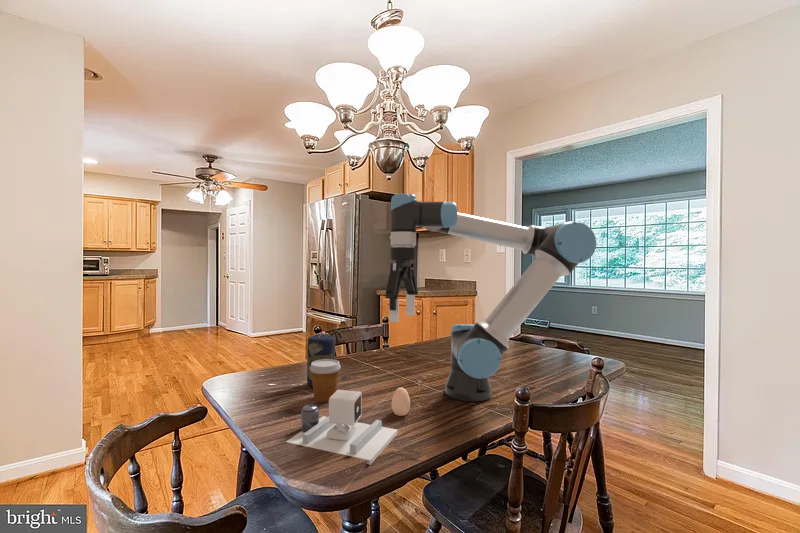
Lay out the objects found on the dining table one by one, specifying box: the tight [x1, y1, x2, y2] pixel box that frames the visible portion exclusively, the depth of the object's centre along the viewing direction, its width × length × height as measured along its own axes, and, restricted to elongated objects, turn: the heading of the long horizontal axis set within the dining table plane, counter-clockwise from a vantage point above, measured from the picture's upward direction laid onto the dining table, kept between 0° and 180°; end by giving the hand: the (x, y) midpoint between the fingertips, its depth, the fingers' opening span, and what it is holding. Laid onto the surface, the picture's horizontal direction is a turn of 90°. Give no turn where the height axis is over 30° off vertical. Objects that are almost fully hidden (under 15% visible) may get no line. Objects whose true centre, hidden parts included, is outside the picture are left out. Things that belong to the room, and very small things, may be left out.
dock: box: [285, 415, 399, 466], centre depth 93 cm, size 22×16×3 cm
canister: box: [306, 333, 336, 388], centre depth 133 cm, size 10×10×18 cm
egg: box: [391, 387, 411, 417], centre depth 106 cm, size 5×5×8 cm
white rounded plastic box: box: [327, 389, 363, 441], centre depth 92 cm, size 6×7×10 cm
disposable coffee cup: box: [310, 359, 342, 403], centre depth 118 cm, size 10×10×12 cm
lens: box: [300, 403, 320, 433], centre depth 96 cm, size 4×4×6 cm
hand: (402, 318), depth 112 cm, fingers open, 13 cm apart
